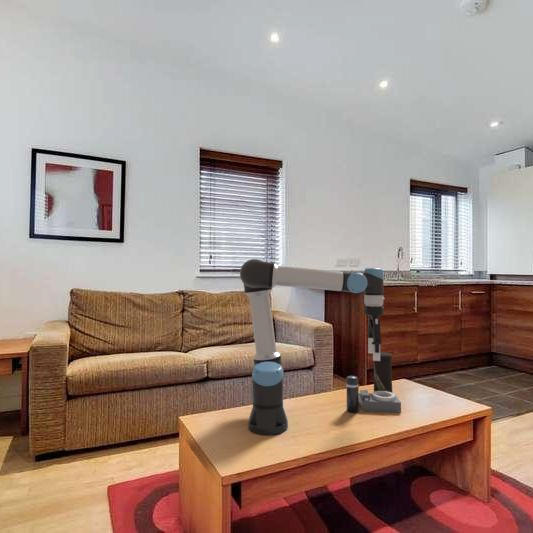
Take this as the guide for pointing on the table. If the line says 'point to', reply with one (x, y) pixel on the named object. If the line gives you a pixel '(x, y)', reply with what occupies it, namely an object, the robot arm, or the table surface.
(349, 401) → the lens
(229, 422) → the table surface
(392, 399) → the camera body
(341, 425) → the table surface
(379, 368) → the container
